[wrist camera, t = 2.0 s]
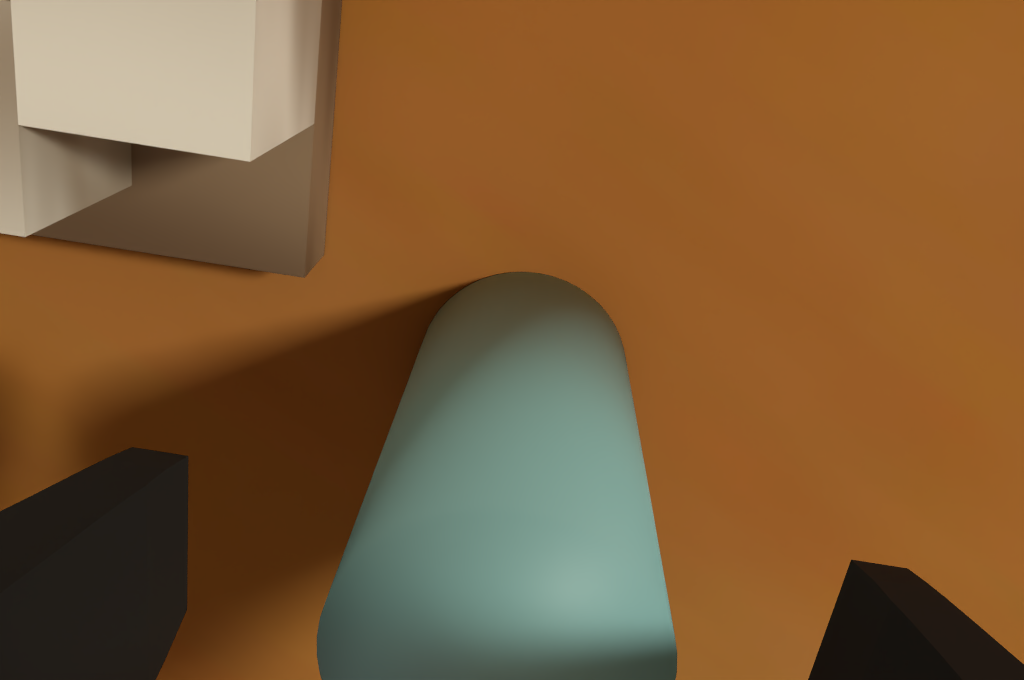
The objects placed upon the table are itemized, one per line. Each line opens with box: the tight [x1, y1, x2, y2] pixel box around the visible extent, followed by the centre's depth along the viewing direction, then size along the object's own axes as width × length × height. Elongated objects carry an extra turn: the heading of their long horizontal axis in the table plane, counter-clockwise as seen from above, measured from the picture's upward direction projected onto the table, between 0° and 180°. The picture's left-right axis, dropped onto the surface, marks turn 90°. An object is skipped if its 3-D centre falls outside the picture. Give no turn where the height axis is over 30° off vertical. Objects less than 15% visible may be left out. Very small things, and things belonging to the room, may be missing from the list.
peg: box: [317, 272, 677, 680], centre depth 12 cm, size 4×4×7 cm
